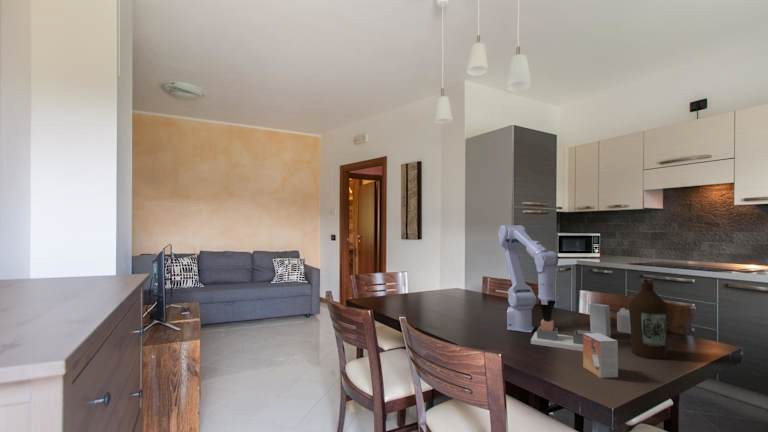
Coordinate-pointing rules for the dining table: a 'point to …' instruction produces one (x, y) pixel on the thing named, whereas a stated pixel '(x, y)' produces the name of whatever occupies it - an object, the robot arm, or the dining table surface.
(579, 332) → the button grey
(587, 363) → the small box
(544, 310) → the robot arm
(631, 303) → the olive oil
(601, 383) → the dining table surface
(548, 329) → the button terracotta
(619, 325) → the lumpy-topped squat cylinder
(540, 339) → the console
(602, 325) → the skincare box
